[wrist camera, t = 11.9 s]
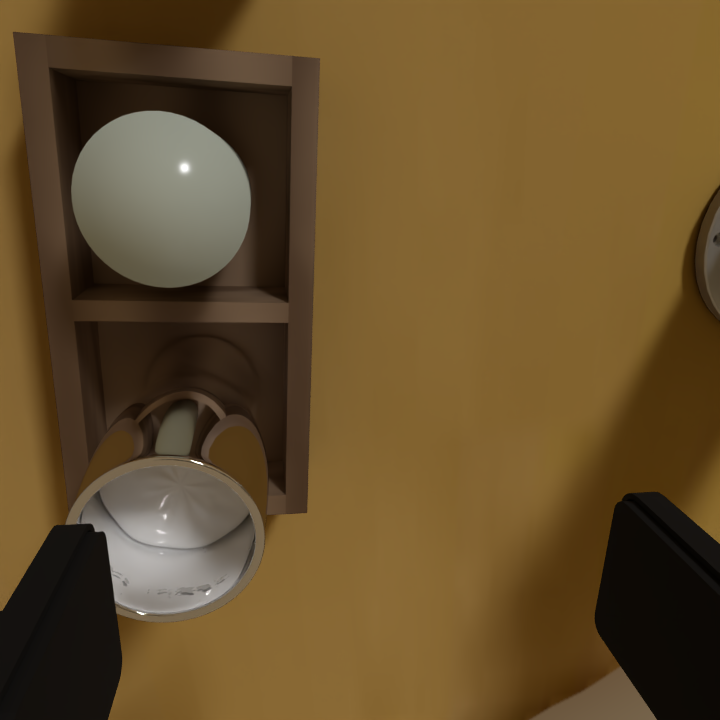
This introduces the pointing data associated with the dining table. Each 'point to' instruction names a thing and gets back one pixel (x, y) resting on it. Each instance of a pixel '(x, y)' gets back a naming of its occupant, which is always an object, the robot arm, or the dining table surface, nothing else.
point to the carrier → (197, 301)
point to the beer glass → (181, 485)
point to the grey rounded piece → (161, 198)
